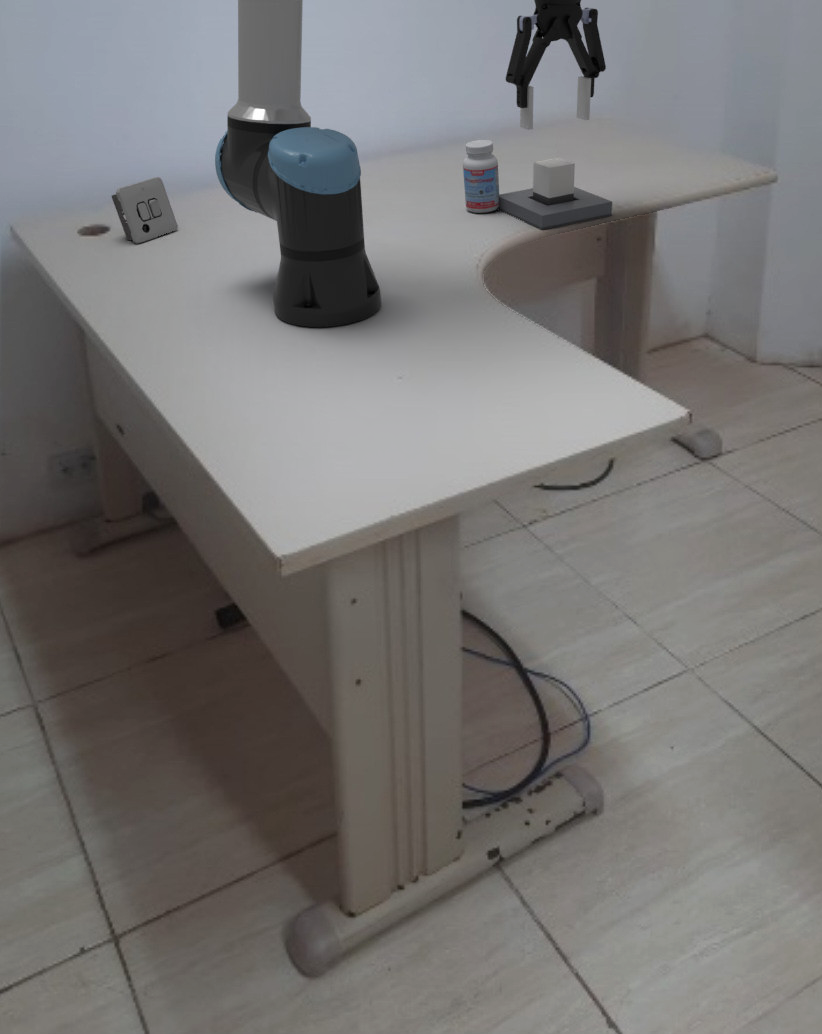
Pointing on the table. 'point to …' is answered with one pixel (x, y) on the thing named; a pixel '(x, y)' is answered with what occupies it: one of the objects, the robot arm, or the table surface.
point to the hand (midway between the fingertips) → (555, 123)
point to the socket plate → (554, 208)
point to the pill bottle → (481, 177)
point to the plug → (553, 181)
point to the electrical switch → (144, 210)
